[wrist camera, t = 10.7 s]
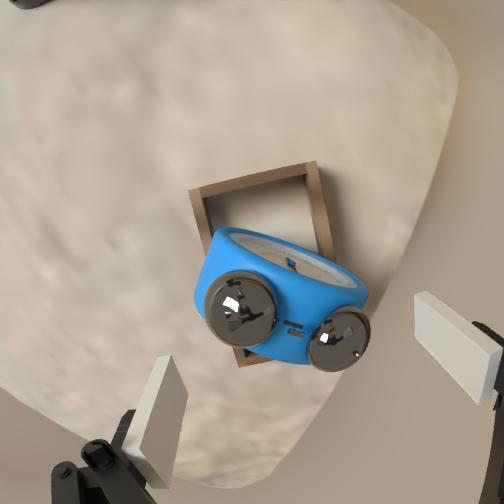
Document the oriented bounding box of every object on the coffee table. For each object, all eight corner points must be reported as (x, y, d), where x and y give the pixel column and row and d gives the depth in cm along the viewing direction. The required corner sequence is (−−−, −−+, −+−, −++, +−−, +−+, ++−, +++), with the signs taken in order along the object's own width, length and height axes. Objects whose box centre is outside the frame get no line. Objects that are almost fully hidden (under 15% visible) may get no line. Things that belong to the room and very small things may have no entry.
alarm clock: (341, 261, 32) (409, 321, 17) (318, 312, 33) (364, 399, 19) (222, 217, 31) (202, 251, 16) (202, 274, 32) (172, 349, 17)
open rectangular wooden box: (194, 189, 32) (188, 190, 28) (307, 162, 31) (315, 160, 28) (239, 350, 36) (238, 367, 32) (337, 326, 36) (347, 341, 32)
